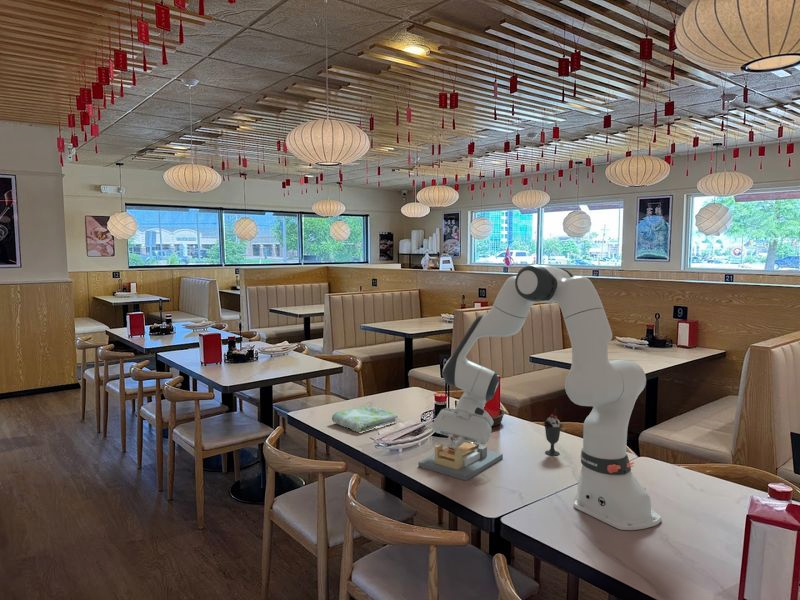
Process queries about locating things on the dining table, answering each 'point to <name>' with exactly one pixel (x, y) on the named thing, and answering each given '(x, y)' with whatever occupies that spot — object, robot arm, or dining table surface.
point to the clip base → (461, 462)
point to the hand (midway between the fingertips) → (451, 449)
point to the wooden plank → (465, 447)
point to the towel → (364, 418)
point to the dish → (498, 418)
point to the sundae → (552, 433)
